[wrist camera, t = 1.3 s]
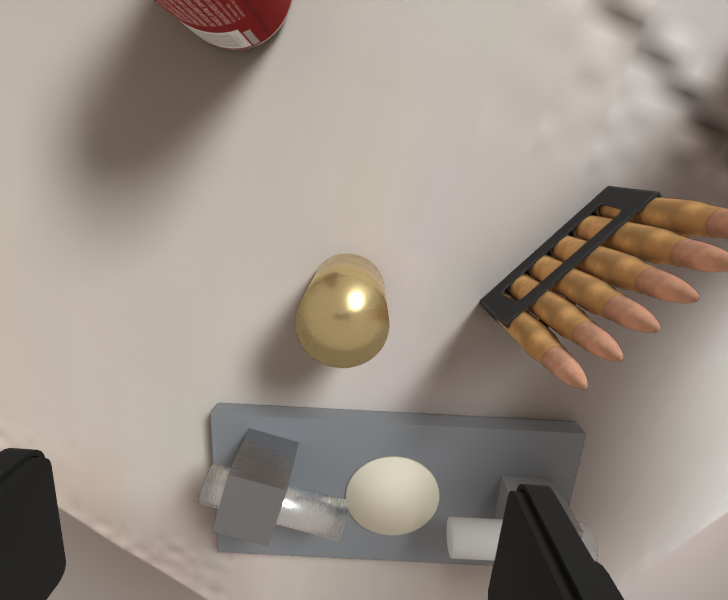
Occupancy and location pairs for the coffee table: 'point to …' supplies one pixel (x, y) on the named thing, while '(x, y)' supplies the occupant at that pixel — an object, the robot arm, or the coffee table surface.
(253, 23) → the soda can
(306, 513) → the grey block on rod
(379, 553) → the shaft rig
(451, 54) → the coffee table surface
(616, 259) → the ammunition clip
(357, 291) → the tan rounded cylinder
